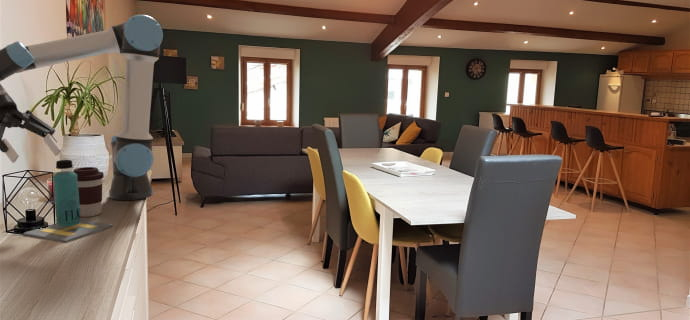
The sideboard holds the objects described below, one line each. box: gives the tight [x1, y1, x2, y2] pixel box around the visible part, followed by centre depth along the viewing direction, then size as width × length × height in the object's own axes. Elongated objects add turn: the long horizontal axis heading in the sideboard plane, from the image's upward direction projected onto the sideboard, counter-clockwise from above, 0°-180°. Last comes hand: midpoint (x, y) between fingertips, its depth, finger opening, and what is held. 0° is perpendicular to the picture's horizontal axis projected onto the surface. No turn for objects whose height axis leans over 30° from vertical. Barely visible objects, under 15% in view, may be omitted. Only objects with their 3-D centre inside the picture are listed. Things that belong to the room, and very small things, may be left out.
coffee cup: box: [72, 166, 105, 218], centre depth 161 cm, size 10×10×15 cm
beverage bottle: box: [52, 159, 82, 226], centre depth 144 cm, size 6×7×20 cm
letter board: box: [23, 219, 113, 243], centre depth 145 cm, size 16×16×1 cm
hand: (38, 156), depth 145 cm, fingers open, 13 cm apart
